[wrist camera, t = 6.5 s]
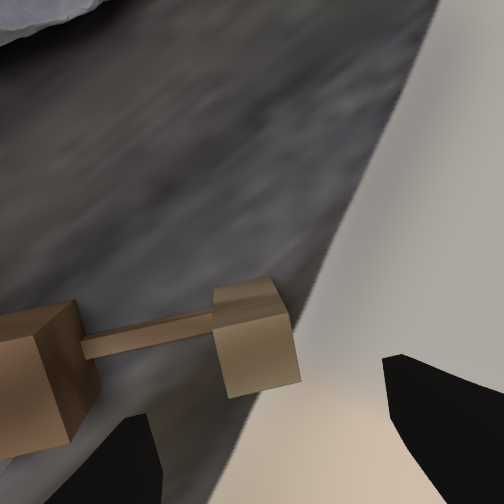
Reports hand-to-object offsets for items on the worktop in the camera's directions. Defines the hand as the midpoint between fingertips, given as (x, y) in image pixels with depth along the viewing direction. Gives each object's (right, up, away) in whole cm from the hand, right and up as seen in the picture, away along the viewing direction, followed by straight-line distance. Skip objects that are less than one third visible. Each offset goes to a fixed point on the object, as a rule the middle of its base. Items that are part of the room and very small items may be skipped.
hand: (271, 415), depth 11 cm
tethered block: (-7, +1, +9) cm, 11 cm away
